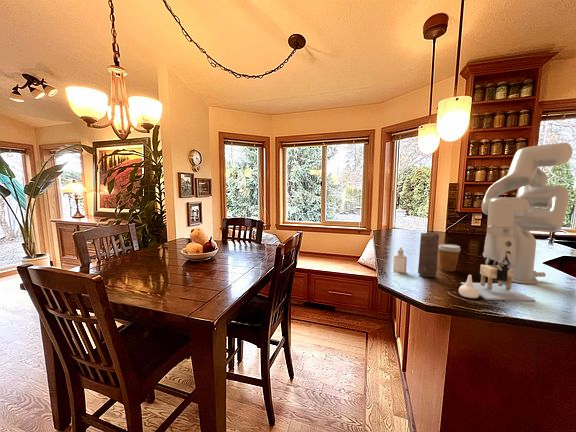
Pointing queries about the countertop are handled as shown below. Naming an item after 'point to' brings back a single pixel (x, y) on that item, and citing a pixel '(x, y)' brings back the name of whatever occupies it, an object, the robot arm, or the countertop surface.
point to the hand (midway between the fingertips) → (495, 277)
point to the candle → (428, 254)
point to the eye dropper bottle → (400, 262)
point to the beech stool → (494, 276)
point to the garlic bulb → (469, 289)
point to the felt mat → (499, 293)
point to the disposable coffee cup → (448, 256)
